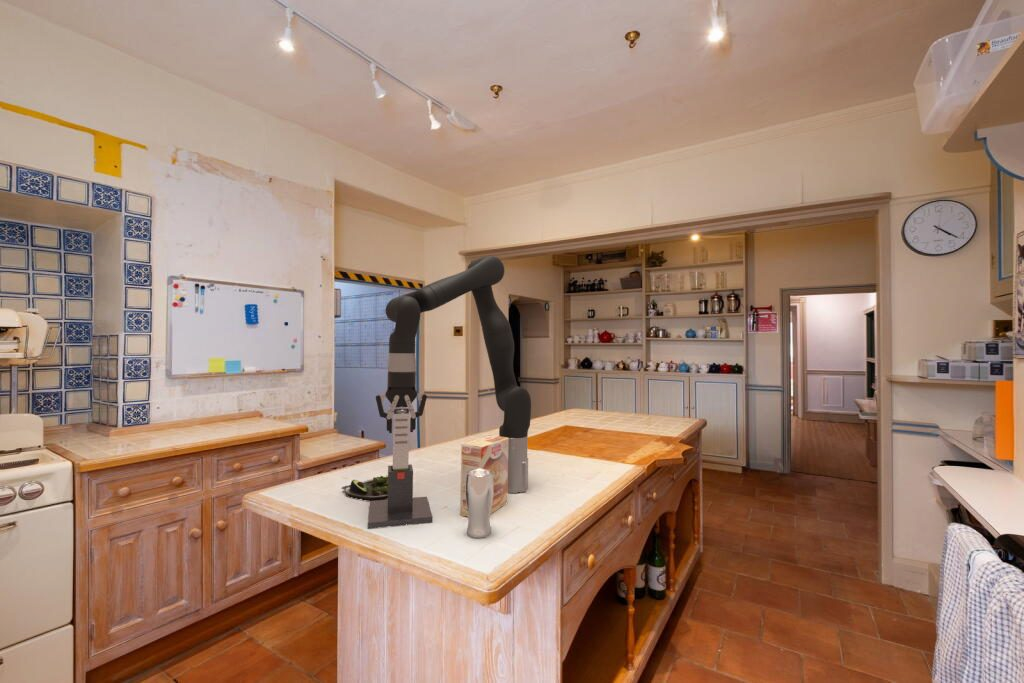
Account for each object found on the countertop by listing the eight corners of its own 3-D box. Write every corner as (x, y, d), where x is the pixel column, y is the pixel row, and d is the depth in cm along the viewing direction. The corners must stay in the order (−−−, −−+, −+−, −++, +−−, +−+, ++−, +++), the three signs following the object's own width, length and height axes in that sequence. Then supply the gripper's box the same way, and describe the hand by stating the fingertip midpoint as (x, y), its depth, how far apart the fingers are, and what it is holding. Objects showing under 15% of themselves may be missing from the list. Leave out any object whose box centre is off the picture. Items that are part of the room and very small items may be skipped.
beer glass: (464, 527, 113) (465, 468, 113) (492, 527, 113) (493, 468, 114) (464, 539, 106) (465, 476, 106) (493, 539, 107) (494, 476, 107)
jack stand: (426, 501, 131) (427, 459, 131) (432, 522, 116) (433, 474, 116) (369, 506, 127) (370, 462, 127) (367, 528, 111) (368, 478, 112)
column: (407, 483, 124) (408, 407, 124) (408, 487, 120) (409, 409, 120) (392, 484, 123) (393, 408, 123) (392, 489, 119) (393, 410, 119)
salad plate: (376, 479, 154) (376, 465, 154) (419, 486, 147) (419, 472, 147) (333, 496, 136) (333, 481, 136) (380, 505, 129) (380, 489, 129)
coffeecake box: (480, 520, 118) (481, 446, 118) (458, 515, 121) (459, 443, 121) (508, 503, 131) (509, 437, 131) (488, 499, 134) (489, 434, 134)
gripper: (427, 369, 127) (426, 428, 127) (374, 369, 123) (373, 430, 123) (429, 370, 120) (428, 433, 120) (374, 370, 116) (373, 436, 116)
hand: (400, 431), depth 122 cm, fingers open, 5 cm apart
